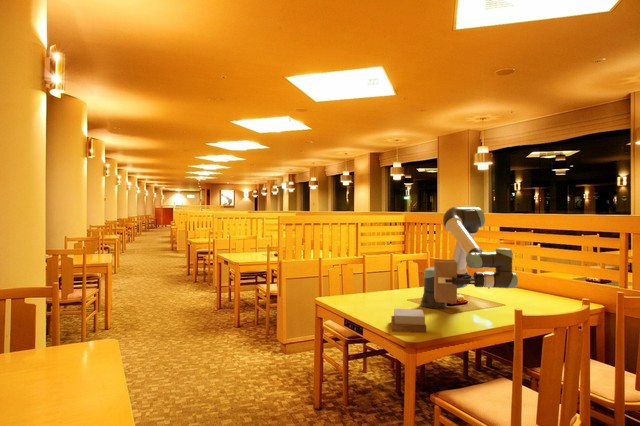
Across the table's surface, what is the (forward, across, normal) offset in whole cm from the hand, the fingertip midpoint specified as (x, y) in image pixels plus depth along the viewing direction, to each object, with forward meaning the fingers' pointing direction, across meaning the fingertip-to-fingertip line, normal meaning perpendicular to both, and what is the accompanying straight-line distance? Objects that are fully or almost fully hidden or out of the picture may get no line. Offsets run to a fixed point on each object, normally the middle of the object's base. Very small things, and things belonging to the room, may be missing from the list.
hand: (436, 278), depth 203 cm
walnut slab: (+14, -4, -25) cm, 29 cm away
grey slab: (+14, -3, -21) cm, 25 cm away
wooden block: (-4, 0, -11) cm, 12 cm away
